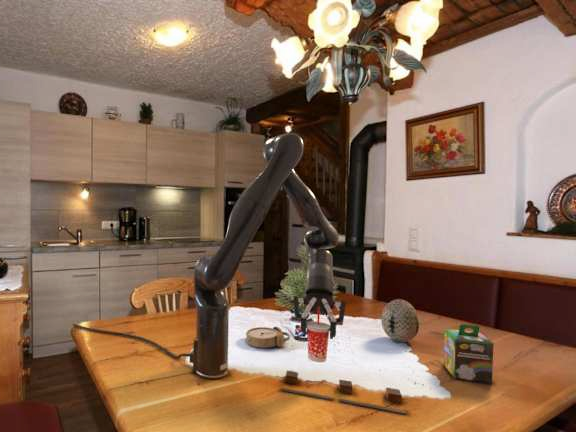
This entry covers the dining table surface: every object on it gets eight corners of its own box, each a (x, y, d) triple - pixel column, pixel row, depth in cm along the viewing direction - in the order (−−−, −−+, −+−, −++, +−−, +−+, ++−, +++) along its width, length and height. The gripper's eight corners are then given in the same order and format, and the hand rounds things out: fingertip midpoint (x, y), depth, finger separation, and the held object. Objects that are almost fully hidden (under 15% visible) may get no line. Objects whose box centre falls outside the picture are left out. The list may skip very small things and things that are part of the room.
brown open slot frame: (340, 402, 86) (340, 394, 86) (338, 386, 94) (339, 379, 94) (406, 414, 81) (406, 406, 81) (399, 397, 89) (399, 389, 89)
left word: (281, 391, 91) (281, 383, 91) (284, 377, 98) (284, 370, 98) (331, 400, 87) (332, 392, 87) (330, 385, 94) (331, 377, 94)
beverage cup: (326, 365, 90) (328, 311, 89) (302, 359, 93) (304, 307, 93) (331, 357, 95) (333, 305, 95) (308, 351, 98) (309, 302, 98)
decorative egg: (424, 342, 125) (426, 301, 125) (408, 350, 119) (410, 305, 118) (390, 332, 135) (392, 293, 135) (374, 338, 128) (375, 298, 128)
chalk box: (478, 370, 105) (480, 320, 104) (493, 384, 96) (495, 330, 96) (442, 365, 108) (443, 317, 107) (453, 378, 99) (455, 326, 99)
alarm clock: (244, 327, 129) (285, 322, 128) (246, 341, 129) (287, 335, 128) (246, 339, 118) (291, 333, 117) (248, 353, 118) (293, 347, 117)
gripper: (293, 272, 103) (288, 325, 92) (347, 276, 98) (349, 333, 87) (294, 286, 108) (290, 338, 97) (345, 291, 103) (346, 346, 92)
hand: (317, 335), depth 92 cm, fingers closed on beverage cup, 6 cm apart
